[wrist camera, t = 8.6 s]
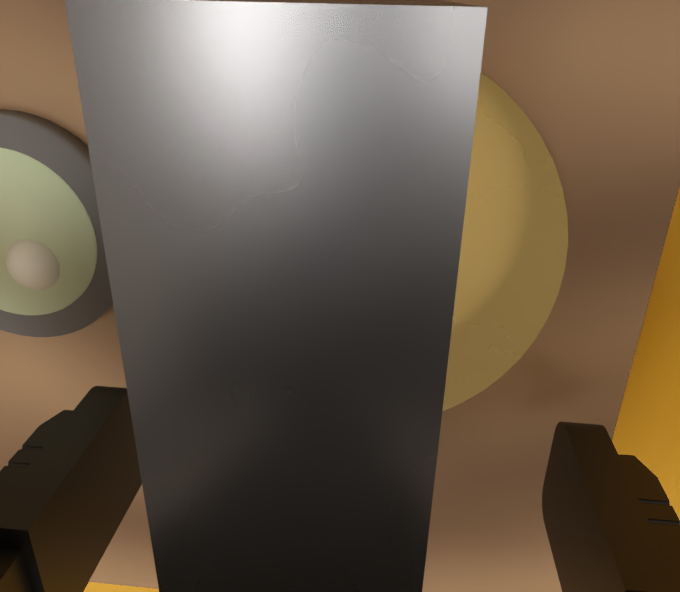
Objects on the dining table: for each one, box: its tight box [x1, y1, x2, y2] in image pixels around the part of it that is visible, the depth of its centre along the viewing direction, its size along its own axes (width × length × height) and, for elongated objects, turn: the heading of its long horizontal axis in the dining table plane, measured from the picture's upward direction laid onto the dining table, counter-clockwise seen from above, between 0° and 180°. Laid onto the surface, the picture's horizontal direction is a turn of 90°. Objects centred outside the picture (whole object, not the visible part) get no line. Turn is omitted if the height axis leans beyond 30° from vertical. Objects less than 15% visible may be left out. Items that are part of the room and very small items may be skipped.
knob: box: [65, 0, 568, 592], centre depth 9 cm, size 9×8×8 cm
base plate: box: [0, 0, 680, 592], centre depth 14 cm, size 22×26×3 cm
